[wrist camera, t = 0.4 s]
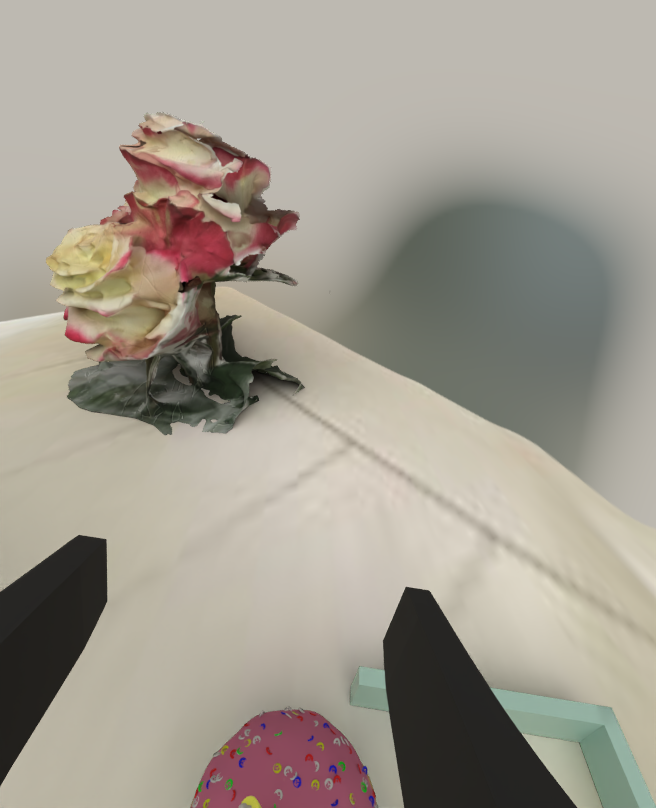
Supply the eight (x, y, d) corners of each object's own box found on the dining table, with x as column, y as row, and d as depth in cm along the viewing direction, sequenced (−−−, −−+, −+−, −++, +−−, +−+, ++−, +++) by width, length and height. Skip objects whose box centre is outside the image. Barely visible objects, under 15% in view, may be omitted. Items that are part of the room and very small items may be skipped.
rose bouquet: (168, 326, 67) (150, 112, 51) (318, 381, 59) (354, 148, 43) (9, 387, 47) (-104, 62, 30) (206, 483, 38) (194, 111, 22)
